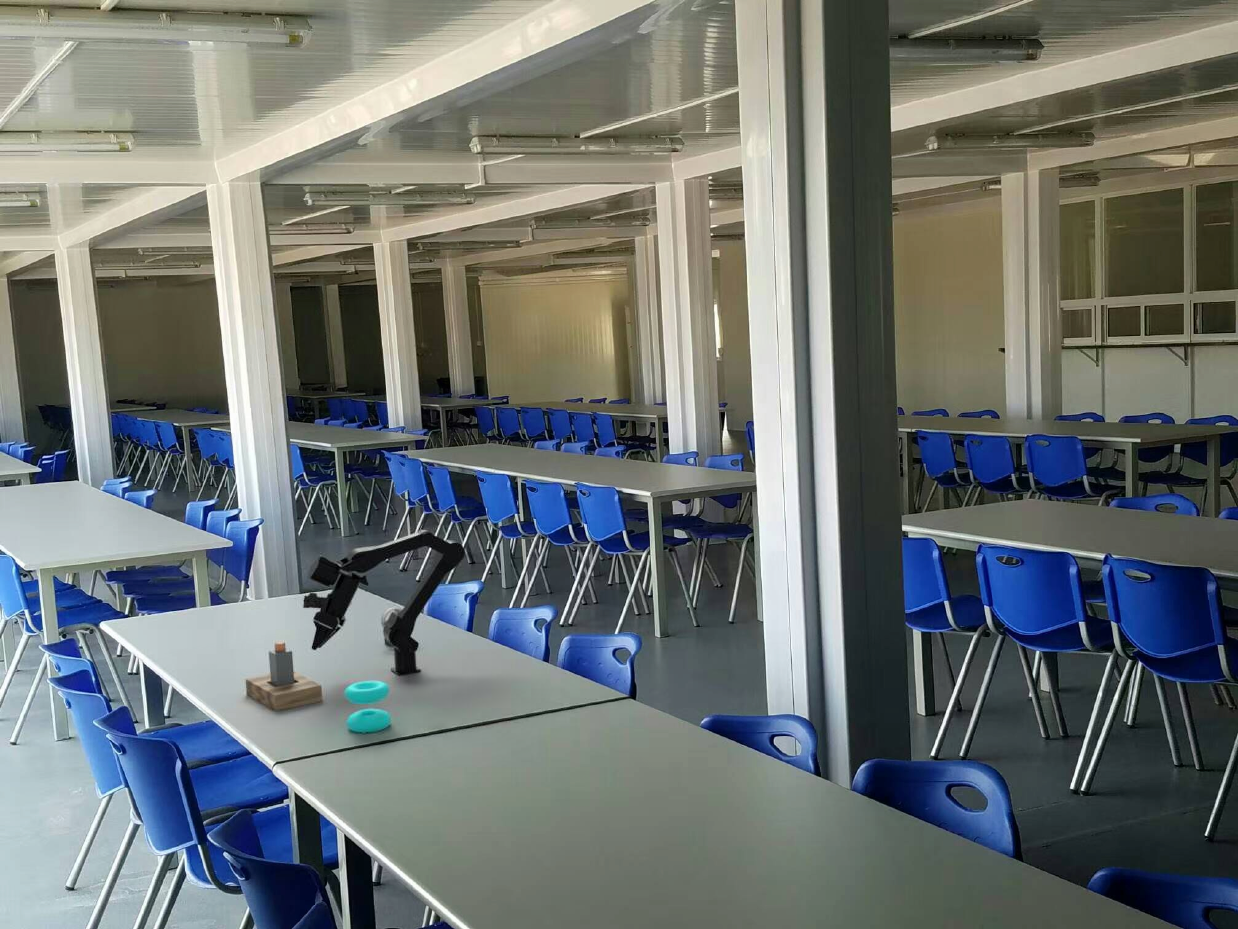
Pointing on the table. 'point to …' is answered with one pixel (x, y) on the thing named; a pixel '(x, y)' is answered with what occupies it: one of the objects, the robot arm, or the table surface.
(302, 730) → the table surface
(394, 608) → the watch
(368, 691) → the donuts
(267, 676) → the wooden block with hole
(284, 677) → the gray square post
